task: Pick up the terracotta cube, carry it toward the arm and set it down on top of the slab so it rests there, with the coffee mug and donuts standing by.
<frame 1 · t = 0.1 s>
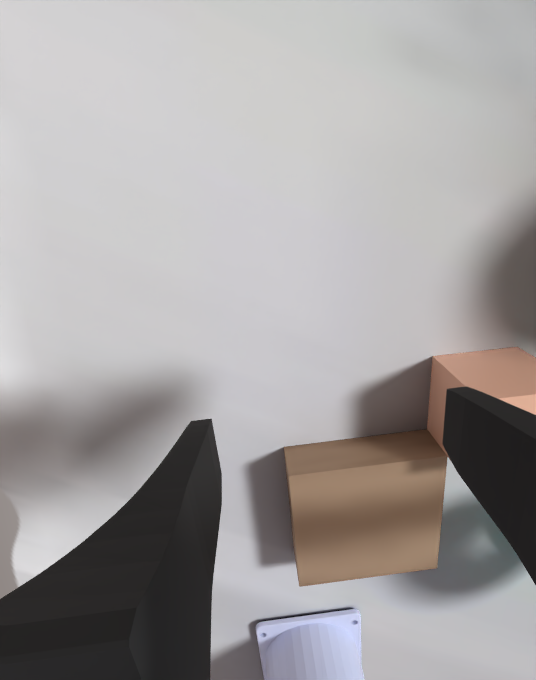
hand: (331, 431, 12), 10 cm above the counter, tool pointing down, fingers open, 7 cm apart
slab: (355, 489, 27), on the counter
cube: (469, 388, 24), on the counter
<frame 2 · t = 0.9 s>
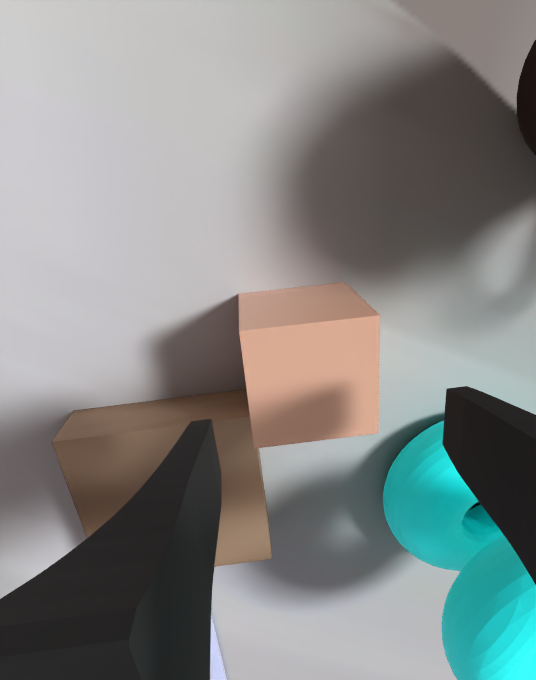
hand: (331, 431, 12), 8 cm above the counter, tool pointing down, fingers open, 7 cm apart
donuts: (457, 472, 24), on the counter
slab: (180, 465, 22), on the counter
cube: (295, 336, 20), on the counter
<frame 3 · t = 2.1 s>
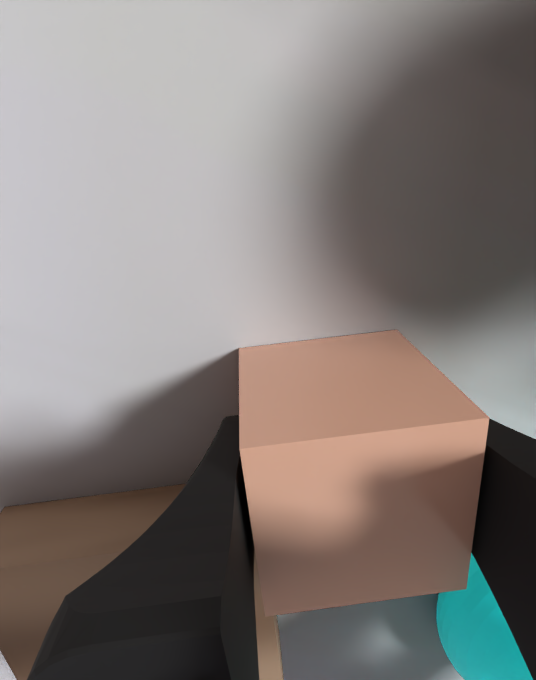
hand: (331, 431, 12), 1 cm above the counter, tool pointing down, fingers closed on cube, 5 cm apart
donuts: (532, 570, 18), on the counter
slab: (159, 568, 16), on the counter
cube: (321, 407, 13), on the counter, touching gripper
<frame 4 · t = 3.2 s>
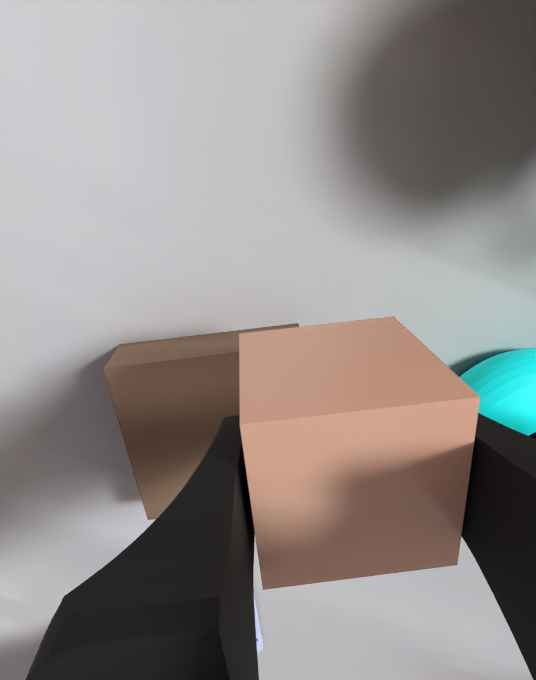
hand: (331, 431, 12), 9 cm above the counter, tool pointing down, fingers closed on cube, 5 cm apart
donuts: (499, 416, 23), on the counter
slab: (222, 405, 22), on the counter
cube: (319, 392, 14), point 7 cm above the counter, touching gripper
when the fingers open (6 cm above the counter, at t = 4.6 s): cube drops 1 cm, point 3 cm above the counter.
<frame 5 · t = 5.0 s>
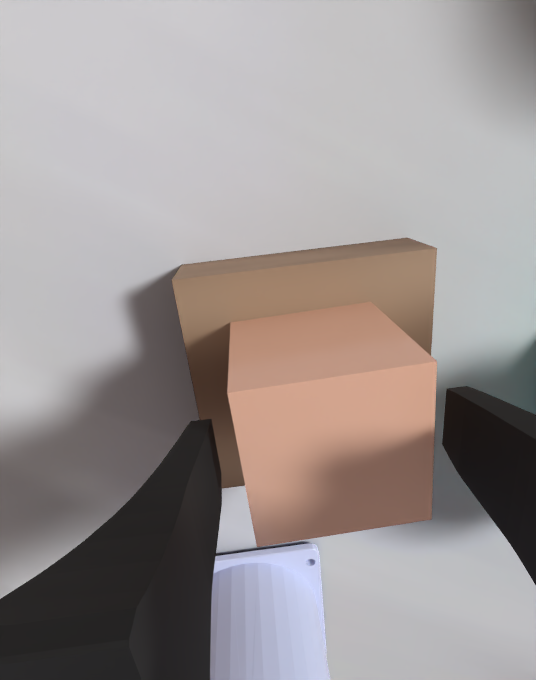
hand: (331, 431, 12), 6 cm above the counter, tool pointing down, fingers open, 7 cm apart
slab: (301, 350, 18), on the counter
cube: (307, 374, 15), point 3 cm above the counter
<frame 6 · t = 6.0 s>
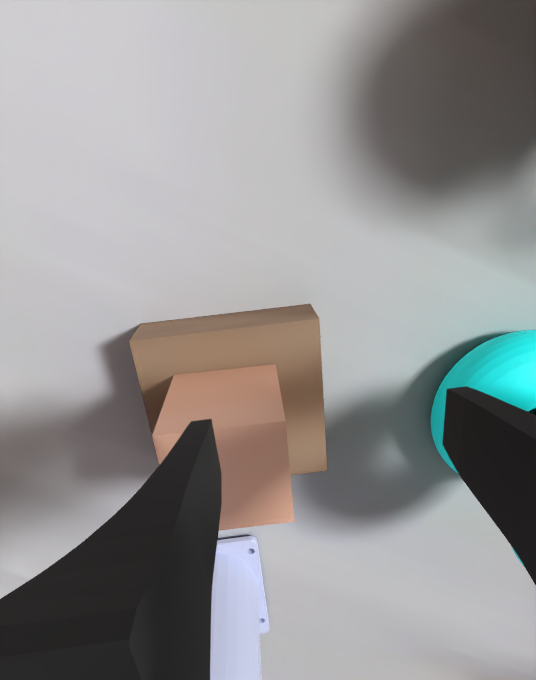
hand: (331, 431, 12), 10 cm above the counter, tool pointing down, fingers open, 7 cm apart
donuts: (500, 398, 25), on the counter
slab: (236, 384, 23), on the counter, touching cube
cube: (231, 413, 20), point 2 cm above the counter, touching slab
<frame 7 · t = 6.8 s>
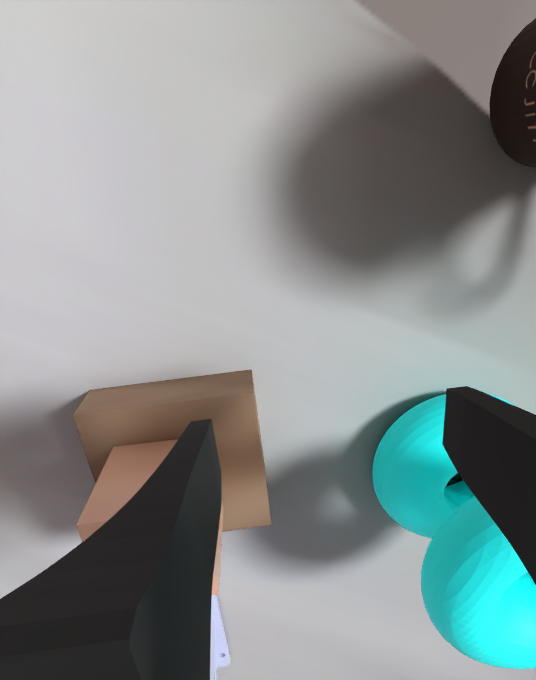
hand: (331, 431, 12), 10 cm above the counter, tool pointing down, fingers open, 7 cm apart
donuts: (442, 450, 26), on the counter
slab: (186, 440, 24), on the counter
cube: (171, 479, 22), point 2 cm above the counter
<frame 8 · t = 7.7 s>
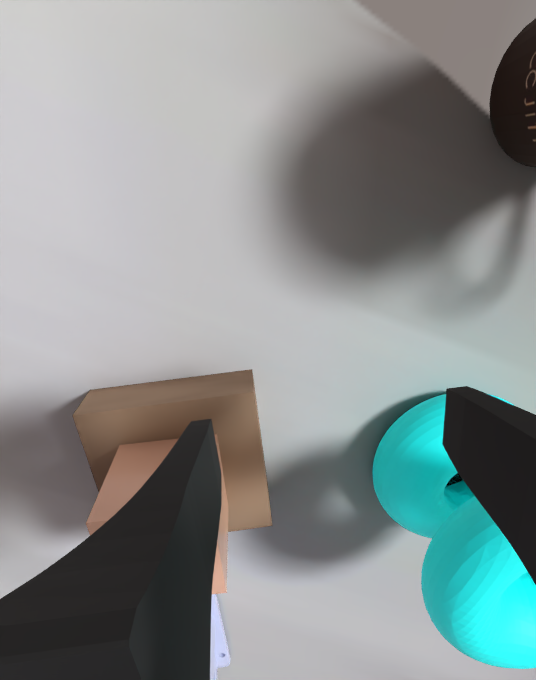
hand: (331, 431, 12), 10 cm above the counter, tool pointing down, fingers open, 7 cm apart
donuts: (441, 450, 26), on the counter
slab: (187, 441, 24), on the counter, touching cube
cube: (176, 477, 21), point 3 cm above the counter, touching slab
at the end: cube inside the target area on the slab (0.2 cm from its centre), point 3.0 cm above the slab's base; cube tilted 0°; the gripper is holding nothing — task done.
